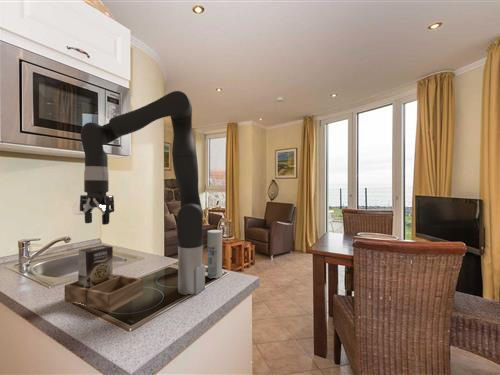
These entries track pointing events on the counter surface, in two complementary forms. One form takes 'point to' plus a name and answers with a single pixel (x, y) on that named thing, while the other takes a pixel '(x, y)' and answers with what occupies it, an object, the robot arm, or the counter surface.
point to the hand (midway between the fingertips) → (96, 223)
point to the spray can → (214, 253)
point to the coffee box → (95, 266)
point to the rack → (106, 293)
